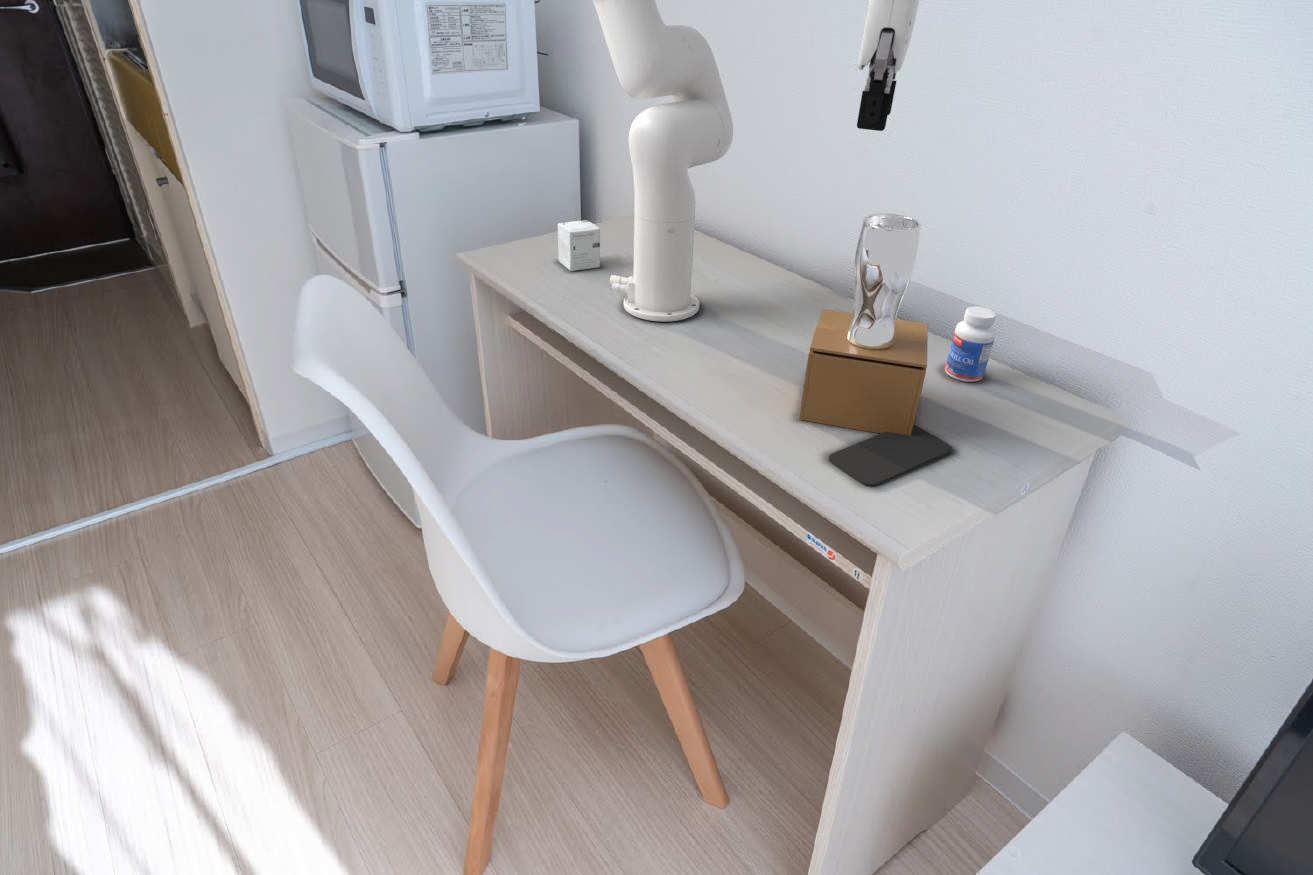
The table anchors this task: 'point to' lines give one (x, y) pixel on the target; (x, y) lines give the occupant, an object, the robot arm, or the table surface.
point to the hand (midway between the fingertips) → (873, 121)
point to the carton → (863, 384)
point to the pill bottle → (971, 345)
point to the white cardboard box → (579, 245)
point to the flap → (902, 327)
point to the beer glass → (881, 277)
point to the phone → (889, 456)
